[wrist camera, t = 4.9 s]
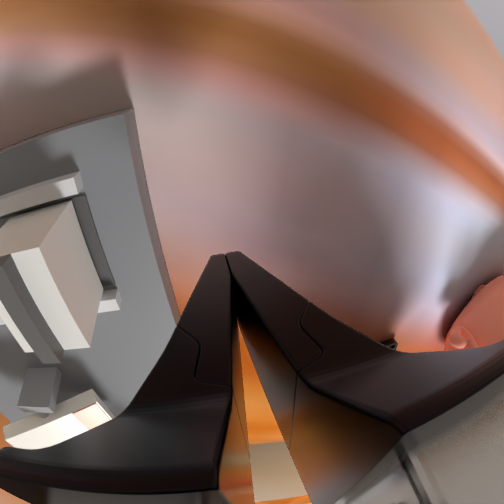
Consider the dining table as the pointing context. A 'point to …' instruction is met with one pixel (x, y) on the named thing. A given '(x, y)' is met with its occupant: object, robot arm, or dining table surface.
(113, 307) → the switch panel
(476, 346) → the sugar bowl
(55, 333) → the slide paddle
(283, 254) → the dining table surface
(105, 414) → the rocker switch
